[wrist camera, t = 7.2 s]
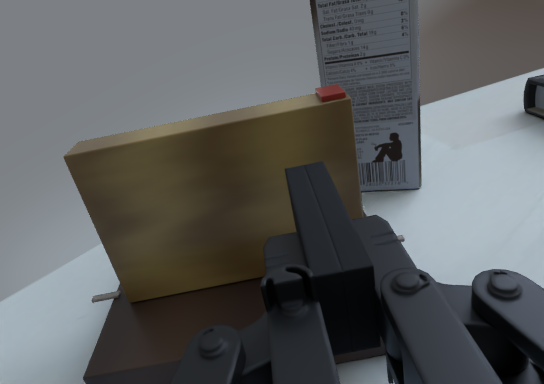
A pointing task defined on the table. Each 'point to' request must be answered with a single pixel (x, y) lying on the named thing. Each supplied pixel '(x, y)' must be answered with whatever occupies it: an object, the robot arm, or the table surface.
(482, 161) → the table surface
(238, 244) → the tan flat piece
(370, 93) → the coffee box
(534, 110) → the book
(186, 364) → the robot arm
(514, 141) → the table surface
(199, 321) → the lock plate
